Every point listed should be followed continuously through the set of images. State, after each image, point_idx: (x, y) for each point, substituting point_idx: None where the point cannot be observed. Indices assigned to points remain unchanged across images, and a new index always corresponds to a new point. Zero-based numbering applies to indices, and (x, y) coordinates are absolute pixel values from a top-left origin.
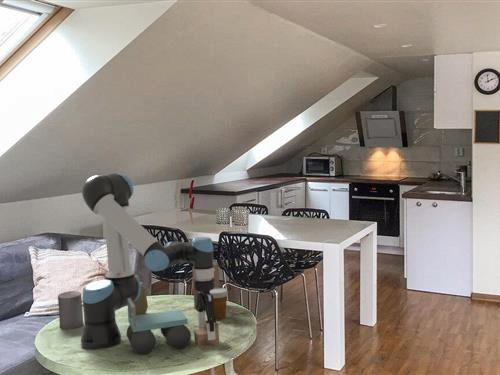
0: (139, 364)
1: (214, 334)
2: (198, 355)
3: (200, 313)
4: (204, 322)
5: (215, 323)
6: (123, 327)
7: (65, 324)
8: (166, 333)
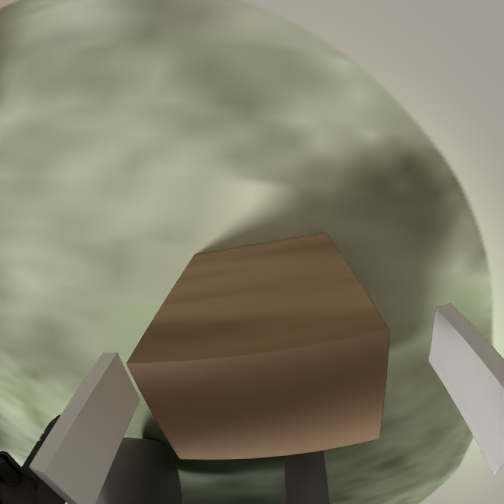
0: (396, 500)
1: (472, 333)
2: None
3: (82, 496)
4: (209, 450)
5: (349, 368)
6: None
7: None
8: (174, 496)
